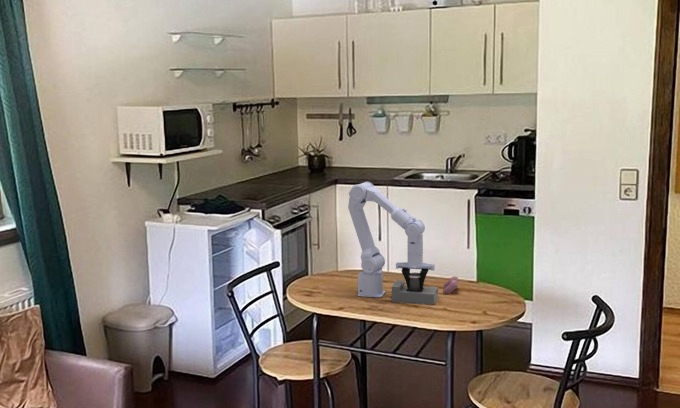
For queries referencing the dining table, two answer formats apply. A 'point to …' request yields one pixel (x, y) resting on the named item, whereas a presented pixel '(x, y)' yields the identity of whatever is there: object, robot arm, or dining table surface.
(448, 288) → the pink rounded piece
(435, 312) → the dining table surface
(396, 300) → the camera body
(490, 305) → the dining table surface
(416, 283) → the lens
